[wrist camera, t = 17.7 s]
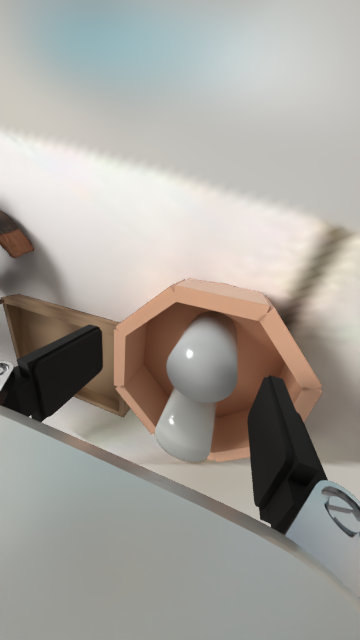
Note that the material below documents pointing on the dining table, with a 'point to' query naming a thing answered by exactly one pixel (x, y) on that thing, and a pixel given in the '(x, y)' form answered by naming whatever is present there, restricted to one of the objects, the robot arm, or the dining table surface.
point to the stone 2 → (186, 427)
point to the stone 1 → (205, 359)
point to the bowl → (252, 358)
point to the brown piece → (12, 239)
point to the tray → (54, 323)
